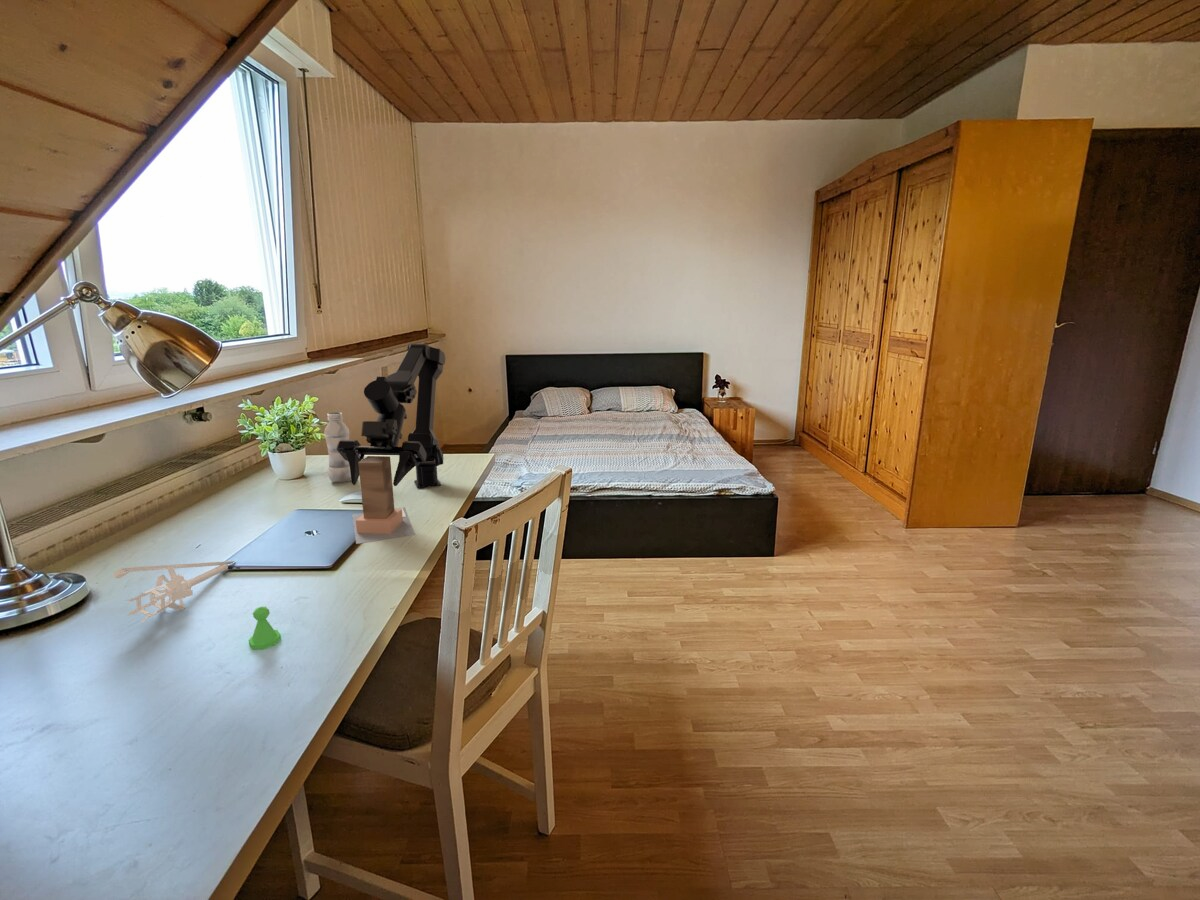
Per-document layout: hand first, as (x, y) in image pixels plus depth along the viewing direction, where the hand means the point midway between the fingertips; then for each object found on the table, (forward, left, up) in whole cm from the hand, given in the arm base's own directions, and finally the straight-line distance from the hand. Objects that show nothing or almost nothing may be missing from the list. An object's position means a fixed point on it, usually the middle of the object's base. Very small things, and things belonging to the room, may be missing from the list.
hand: (374, 484), depth 123 cm
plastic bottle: (-43, -6, -12) cm, 45 cm away
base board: (-3, +1, -12) cm, 12 cm away
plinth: (-1, +1, -11) cm, 11 cm away
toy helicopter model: (+16, -32, -12) cm, 38 cm away
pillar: (-1, +1, -8) cm, 8 cm away
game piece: (+36, -19, -12) cm, 43 cm away
